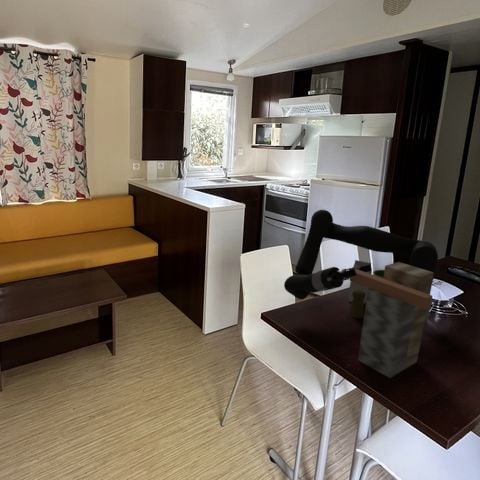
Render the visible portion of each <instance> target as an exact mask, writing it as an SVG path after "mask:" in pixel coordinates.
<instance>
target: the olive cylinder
mask: <svg viewBox="0 0 480 480" xmlns="http://www.w3.org/2000/svg"><path fill="white" fill-rule="evenodd" d="M352 296H353V301H352V302H351V305H350V309H349V311H348V315H349V316H350V317H351V318H353V319H362V318H363V319H364V314H365V308H364V306H365V304H364V302H363V299H364V298H365V292H364V291H362V290H354V291H353V294H352Z"/></svg>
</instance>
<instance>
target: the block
mask: <svg viewBox="0 0 480 480" xmlns="http://www.w3.org/2000/svg"><path fill="white" fill-rule="evenodd" d="M355 271H356V276H352V277H350V279H349V282H354V283H357V284H359V285H362V286H364V287H367V288H369V290H375V291H377V292H380V293H383V294H385V295H388V296H390V297H393V298H396V299H398V300H401V301H403V302H406V303H409V304H411V305H414V306H417V307H419V308H422V309H427V308H429V307H430V308H431V306H432V300H433V295H432V294H430V295H429V294H426V293H424V292H421V291H418V290H415V289H412V288H409V287H406V286H404V285H401V284H398V283H395V282H392V281H389V280H386V279H383V278H381V277H378V276H375V275H374V274H372V273H371V274H369V273H366V272H363V271H361V270H358V269H357V270H355Z"/></svg>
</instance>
